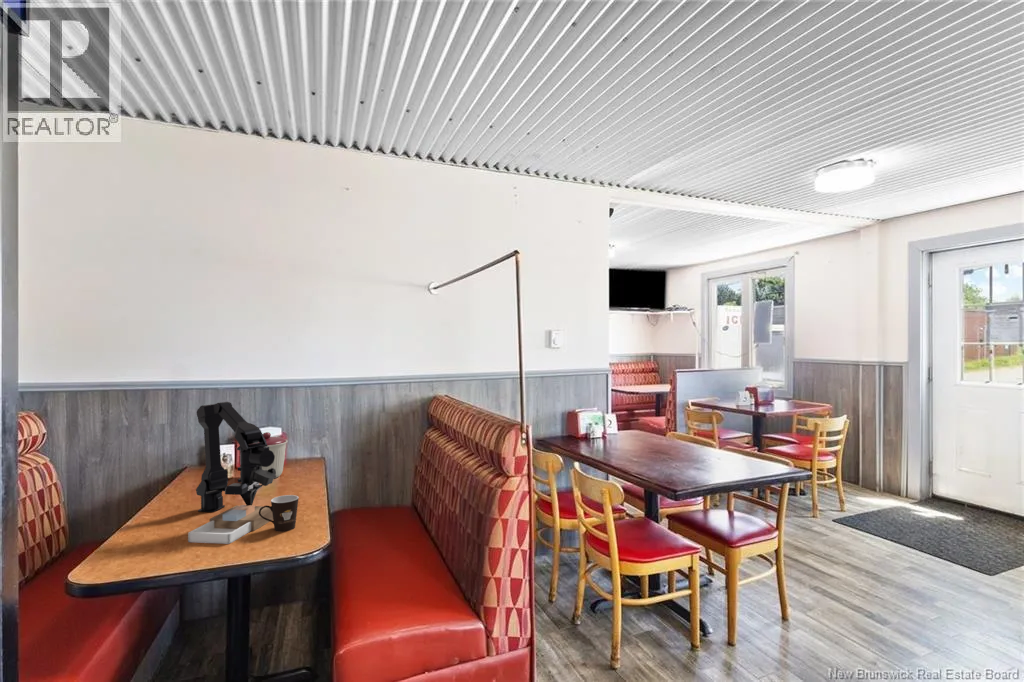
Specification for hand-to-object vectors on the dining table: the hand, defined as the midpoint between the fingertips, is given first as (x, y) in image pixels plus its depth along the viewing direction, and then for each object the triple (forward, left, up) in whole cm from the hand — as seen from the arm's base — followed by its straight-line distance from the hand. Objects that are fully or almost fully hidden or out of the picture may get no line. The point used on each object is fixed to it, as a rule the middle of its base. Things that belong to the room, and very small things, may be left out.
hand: (249, 507), depth 180 cm
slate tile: (0, -8, -1) cm, 8 cm away
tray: (0, -15, -5) cm, 16 cm away
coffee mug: (+15, -7, -5) cm, 18 cm away
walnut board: (0, -3, -5) cm, 5 cm away
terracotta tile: (0, -3, -1) cm, 3 cm away
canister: (-28, +54, -5) cm, 61 cm away
